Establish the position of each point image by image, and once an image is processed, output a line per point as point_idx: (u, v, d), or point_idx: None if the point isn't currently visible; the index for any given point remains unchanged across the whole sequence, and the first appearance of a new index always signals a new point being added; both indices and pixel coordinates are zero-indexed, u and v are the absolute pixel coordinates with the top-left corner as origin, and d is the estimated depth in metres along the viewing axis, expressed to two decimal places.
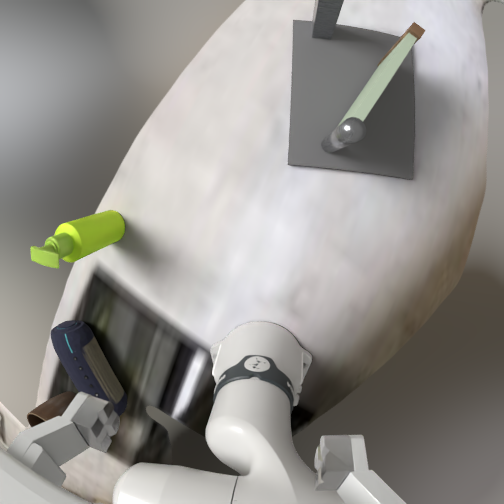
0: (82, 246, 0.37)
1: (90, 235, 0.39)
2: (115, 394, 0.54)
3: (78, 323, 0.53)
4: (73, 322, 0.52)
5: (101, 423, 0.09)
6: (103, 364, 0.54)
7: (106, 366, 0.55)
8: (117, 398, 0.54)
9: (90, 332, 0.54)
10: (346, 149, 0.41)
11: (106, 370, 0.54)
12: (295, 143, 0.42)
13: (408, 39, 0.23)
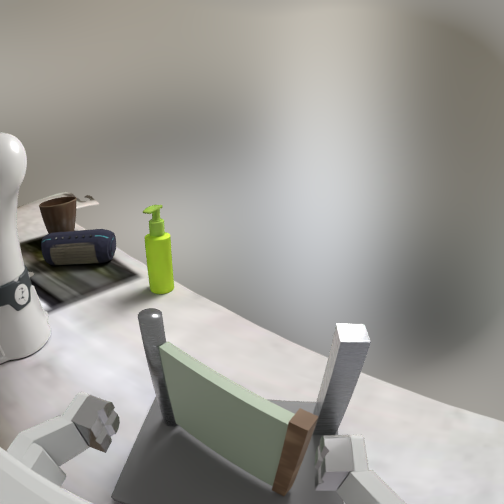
0: (150, 240, 0.61)
1: (156, 251, 0.62)
2: (55, 251, 0.72)
3: (110, 253, 0.78)
4: (112, 250, 0.79)
5: (101, 423, 0.09)
6: (77, 255, 0.74)
7: (74, 257, 0.74)
8: (52, 251, 0.71)
9: (100, 257, 0.76)
10: (163, 433, 0.31)
11: (72, 255, 0.73)
12: None
13: (283, 412, 0.20)
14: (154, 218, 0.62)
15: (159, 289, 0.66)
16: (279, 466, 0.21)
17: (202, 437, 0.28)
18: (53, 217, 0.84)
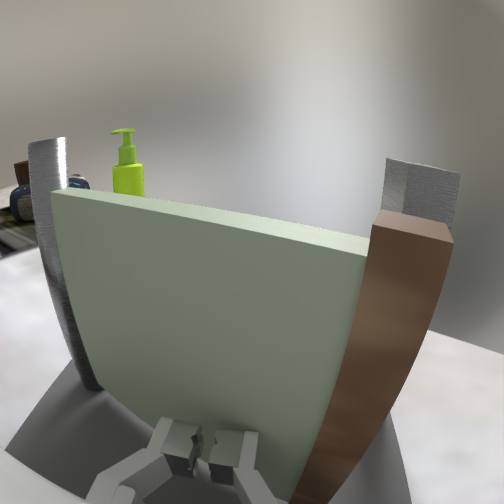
0: (118, 168, 0.47)
1: (124, 181, 0.47)
2: (23, 202, 0.58)
3: None
4: None
5: (194, 449, 0.08)
6: None
7: None
8: (19, 203, 0.57)
9: None
10: (77, 402, 0.16)
11: None
12: None
13: (330, 236, 0.07)
14: (125, 143, 0.47)
15: None
16: (314, 455, 0.08)
17: (136, 404, 0.14)
18: (26, 175, 0.69)
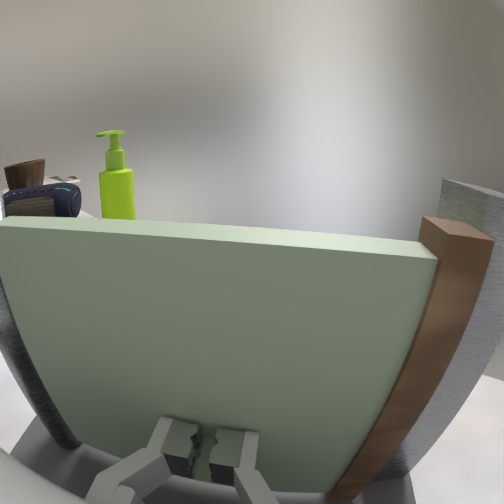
0: (105, 174, 0.42)
1: (111, 189, 0.43)
2: (11, 209, 0.53)
3: (71, 210, 0.60)
4: (74, 207, 0.61)
5: (193, 449, 0.08)
6: (34, 212, 0.55)
7: (31, 215, 0.55)
8: (8, 209, 0.53)
9: (60, 214, 0.58)
10: (48, 461, 0.11)
11: (29, 212, 0.55)
12: None
13: (392, 244, 0.07)
14: (112, 146, 0.42)
15: None
16: (372, 438, 0.08)
17: None
18: (16, 179, 0.64)
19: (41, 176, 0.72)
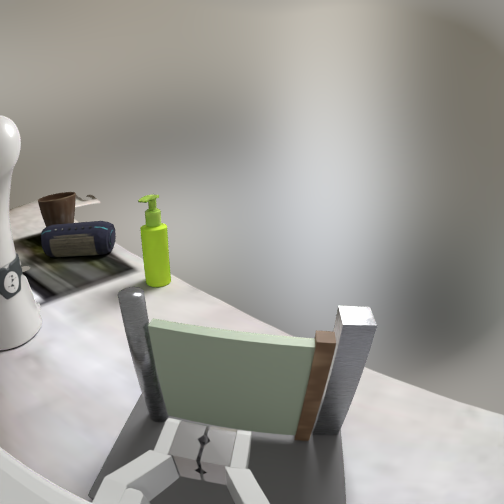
0: (146, 231, 0.59)
1: (151, 242, 0.60)
2: (54, 242, 0.72)
3: (109, 245, 0.78)
4: (111, 242, 0.79)
5: (201, 450, 0.08)
6: (76, 246, 0.74)
7: (74, 248, 0.74)
8: (51, 242, 0.71)
9: (99, 249, 0.76)
10: (148, 430, 0.28)
11: (71, 246, 0.73)
12: None
13: (302, 340, 0.24)
14: (150, 208, 0.59)
15: (155, 282, 0.63)
16: (305, 403, 0.25)
17: (206, 415, 0.28)
18: (51, 212, 0.82)
19: (73, 209, 0.90)
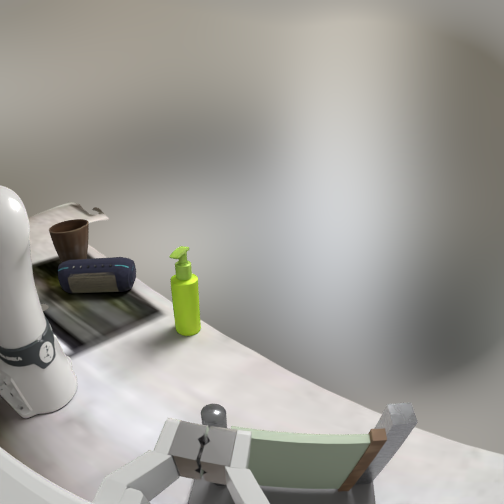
0: (178, 285, 0.60)
1: (183, 295, 0.60)
2: (73, 280, 0.72)
3: (131, 282, 0.79)
4: (133, 279, 0.80)
5: (201, 450, 0.08)
6: (97, 284, 0.74)
7: (94, 286, 0.75)
8: (70, 280, 0.72)
9: (121, 287, 0.77)
10: (214, 494, 0.29)
11: (92, 284, 0.74)
12: None
13: (360, 437, 0.24)
14: (181, 261, 0.60)
15: (186, 331, 0.64)
16: (353, 472, 0.26)
17: (268, 482, 0.29)
18: (65, 244, 0.83)
19: (87, 239, 0.90)
